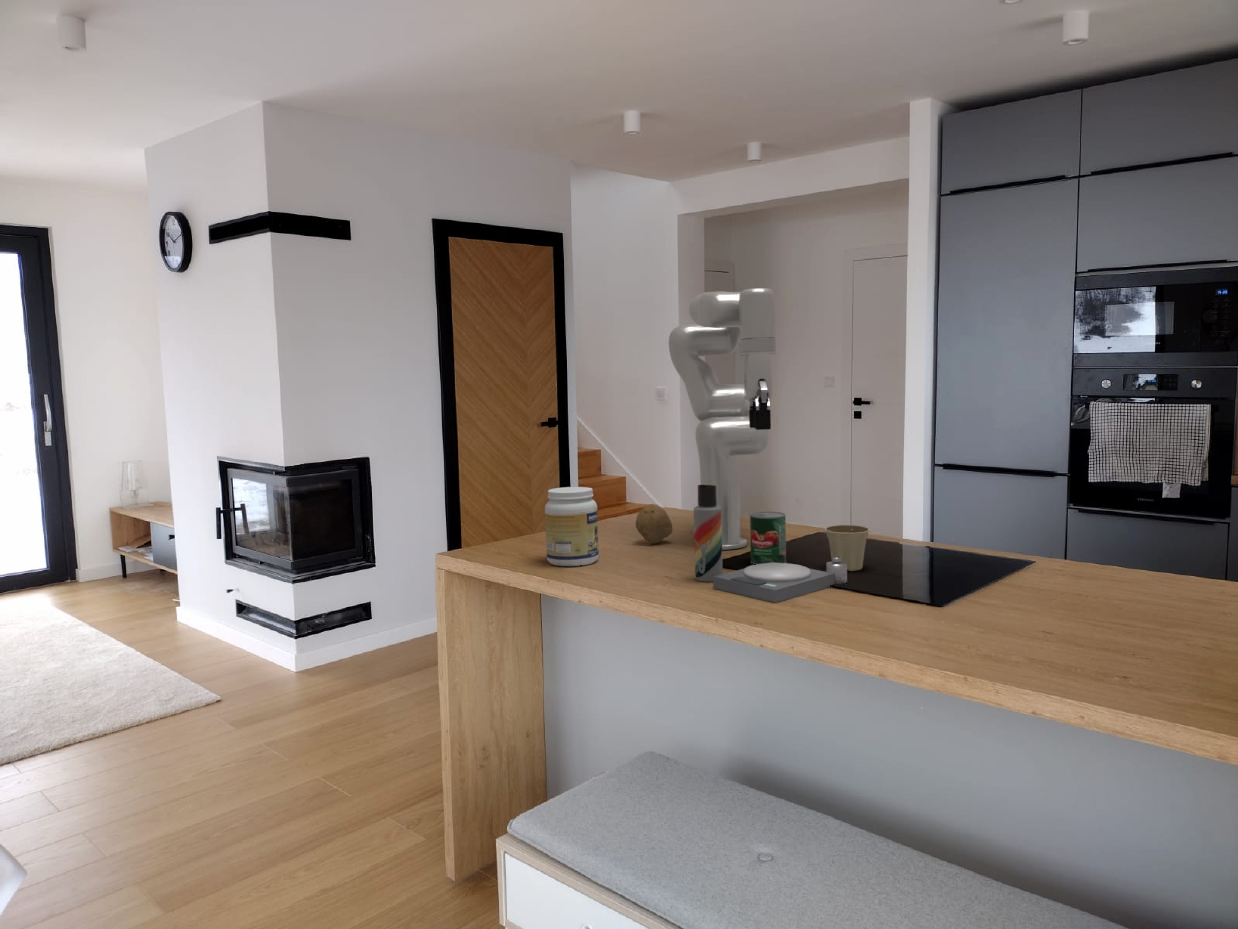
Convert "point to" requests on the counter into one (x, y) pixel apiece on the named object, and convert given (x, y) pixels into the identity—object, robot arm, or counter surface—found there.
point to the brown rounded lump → (653, 523)
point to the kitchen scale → (774, 581)
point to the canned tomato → (768, 537)
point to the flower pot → (848, 544)
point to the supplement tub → (571, 526)
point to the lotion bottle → (707, 535)
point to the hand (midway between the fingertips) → (759, 428)
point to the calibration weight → (837, 569)
